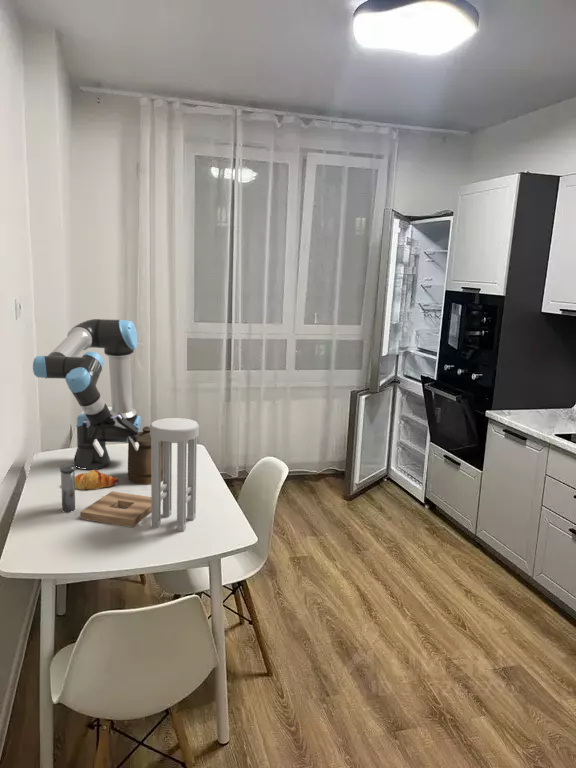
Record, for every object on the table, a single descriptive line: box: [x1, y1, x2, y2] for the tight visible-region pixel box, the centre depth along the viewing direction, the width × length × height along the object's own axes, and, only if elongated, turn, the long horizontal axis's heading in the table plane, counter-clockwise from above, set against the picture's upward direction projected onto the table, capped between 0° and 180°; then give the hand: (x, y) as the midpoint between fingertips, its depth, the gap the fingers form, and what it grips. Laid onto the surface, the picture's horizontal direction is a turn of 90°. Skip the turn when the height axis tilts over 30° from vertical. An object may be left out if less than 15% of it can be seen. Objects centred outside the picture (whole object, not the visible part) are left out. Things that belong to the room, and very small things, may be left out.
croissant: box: [75, 469, 119, 491], centre depth 225 cm, size 21×10×8 cm, turn 100°
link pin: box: [59, 463, 77, 513], centre depth 201 cm, size 5×5×16 cm
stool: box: [149, 417, 200, 532], centre depth 193 cm, size 16×16×35 cm
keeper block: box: [79, 491, 151, 528], centre depth 203 cm, size 20×20×2 cm
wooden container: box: [127, 425, 163, 485], centre depth 234 cm, size 15×15×22 cm
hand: (119, 451), depth 208 cm, fingers open, 13 cm apart
